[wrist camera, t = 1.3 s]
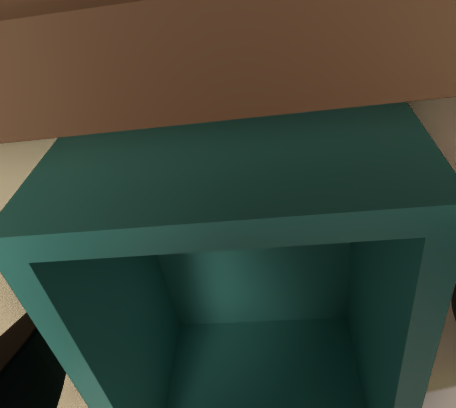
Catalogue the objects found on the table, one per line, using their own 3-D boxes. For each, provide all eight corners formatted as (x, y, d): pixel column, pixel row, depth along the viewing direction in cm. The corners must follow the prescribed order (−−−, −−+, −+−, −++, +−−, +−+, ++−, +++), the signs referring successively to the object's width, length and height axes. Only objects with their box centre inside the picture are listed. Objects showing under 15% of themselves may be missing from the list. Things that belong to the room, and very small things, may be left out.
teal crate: (378, 61, 9) (476, 203, 5) (359, 314, 14) (401, 486, 10) (92, 94, 10) (-21, 239, 6) (170, 322, 15) (139, 484, 11)
